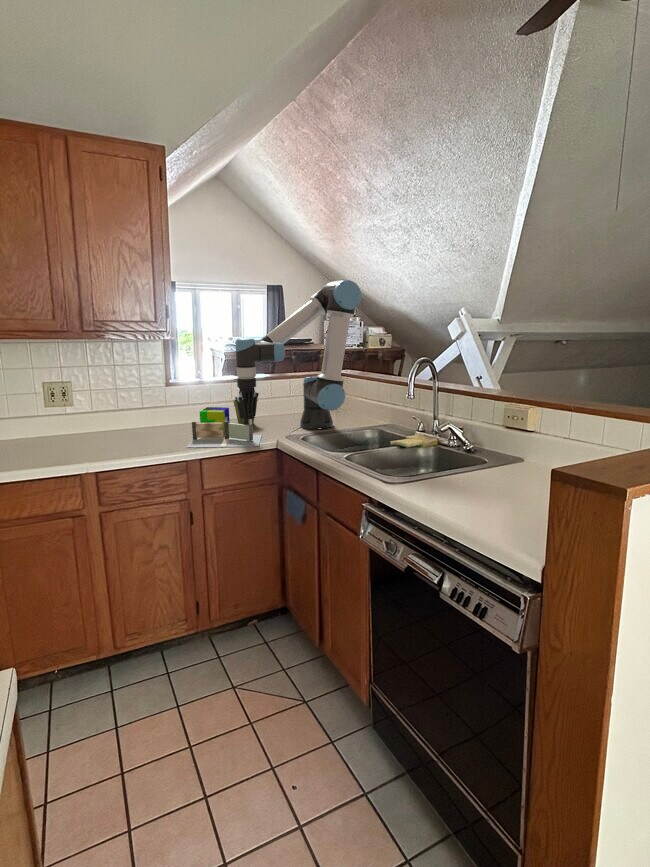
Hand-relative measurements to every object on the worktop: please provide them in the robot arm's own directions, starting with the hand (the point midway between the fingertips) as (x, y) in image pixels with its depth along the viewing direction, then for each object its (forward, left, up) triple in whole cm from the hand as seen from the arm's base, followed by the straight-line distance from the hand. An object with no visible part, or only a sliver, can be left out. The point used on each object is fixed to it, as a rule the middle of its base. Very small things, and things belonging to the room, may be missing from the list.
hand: (248, 434), depth 206 cm
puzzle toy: (+16, -16, -3) cm, 23 cm away
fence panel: (+3, +2, -1) cm, 4 cm away
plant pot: (+4, -30, -3) cm, 30 cm away
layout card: (+9, +2, -2) cm, 10 cm away
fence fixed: (+16, -2, -2) cm, 16 cm away
